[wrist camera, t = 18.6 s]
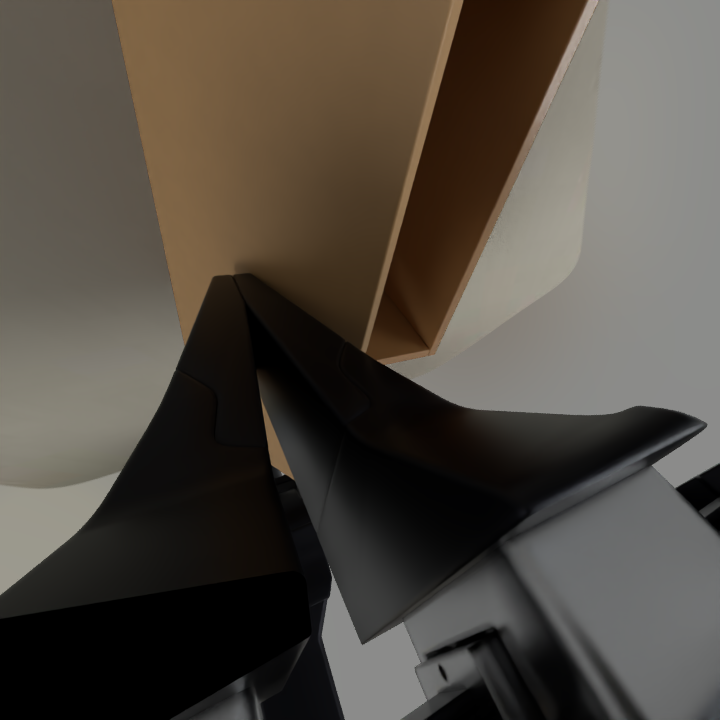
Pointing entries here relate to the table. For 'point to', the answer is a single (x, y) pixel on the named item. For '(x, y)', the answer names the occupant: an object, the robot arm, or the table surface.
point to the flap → (284, 143)
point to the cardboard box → (472, 159)
